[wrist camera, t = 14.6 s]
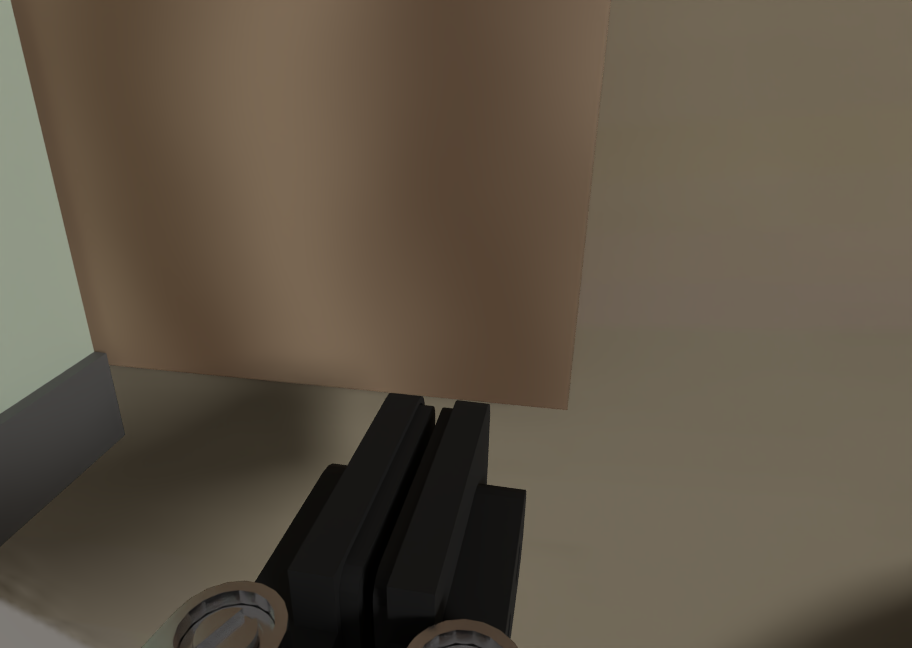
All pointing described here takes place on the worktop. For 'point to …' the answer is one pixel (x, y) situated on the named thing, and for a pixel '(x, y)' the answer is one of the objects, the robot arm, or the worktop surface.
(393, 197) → the stool seat
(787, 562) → the worktop surface
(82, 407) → the leg
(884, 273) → the worktop surface
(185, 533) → the worktop surface
